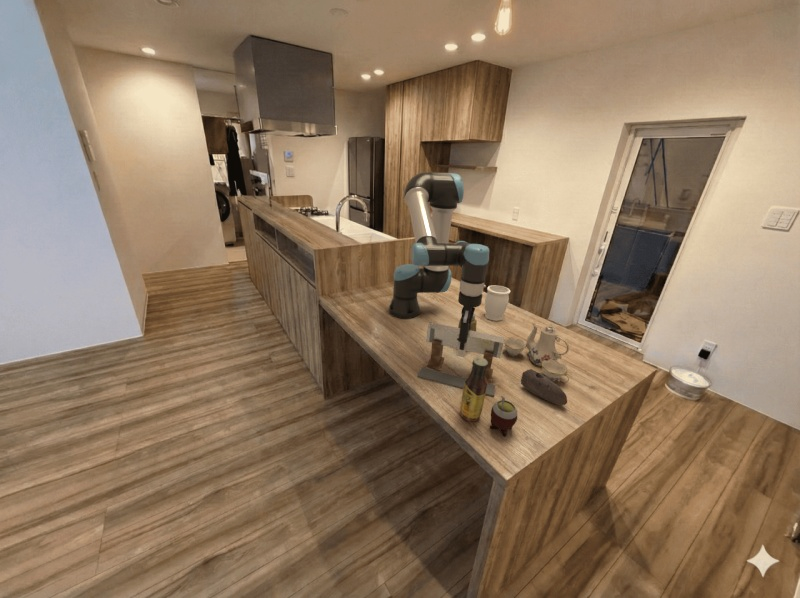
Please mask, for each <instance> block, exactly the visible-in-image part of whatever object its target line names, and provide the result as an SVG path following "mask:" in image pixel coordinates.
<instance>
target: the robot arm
mask: <svg viewBox="0 0 800 598" xmlns="http://www.w3.org/2000/svg"><path fill="white" fill-rule="evenodd" d="M464 192H465V186H464V181H463V178H462V177H461V175H459V174H458V173H453V172H431V171H430V172H429V171H423V172H419V173H417V174H416V175H414V176H412V177H411V178H410V179H409V180H408V182H407V183H406V186H405V188H404V194H403V197H404V202H405V205H406V206H407V207H408V211H409V215H410V221H411V226H412V231H413V237H414V242H415V243H413V244H412V245H411V249H410V256H411V257H410V260H411V263H406V264H402V265H399V266H397V267H396V268H395V269H394V271H393V272H394V273H393V277H392V278H393V287H392V289H393V290H392V299H391V301H390V304H389V306H388V312H389V313H388V314H390V315H391V316H393V317H395V318H399V319H404V320H405V319H407V320H408V319H414V318H416V317H418V316H419V315H420V311H421V310H420V304H419V300H418V294H419V293H420V294H425V293H427V294H429V293H431V294H433V293H434V294H438V293H445V292H447V291H448V290H449V288H450V286H451V284H452V271H451V269H450V268H449V267H451V266H452V267H458V266H459V267H460V268H461V277H460V283H459V293H458V300H457V301H458V303H459V305H461V306H462V308H461V316H460V317H461V326H460V333H459V338H457V340H458V342H459V344H458V349H457V351H456V356H457V357H461V358H465V357H466V352H467V351H466V345H467V336H468V330H470V329H471V322H472V318H473V314H475V310H476V308H479V307H480V306H481V304H482V300H483V293H484V288H485V289H486V288H487V286H486V284H485V282H486V277H487V276H486V275H487V269H488V266H489V265H488V264H489V260H490V248H489V246H487V245H483V244H479V243H469V242H467V241H465V240H459V241H456V242H454V243H449V242H450V241H449V240H450V233H451V225H452V219H453V212H454V211H455V210H456V209H457V208H458V204H461V203H462V202H463V199H464V196H465V195H464V194H465V193H464ZM430 209H431V210H432V213H431V210H430ZM421 266H422V267H423V268H420V267H421Z"/></svg>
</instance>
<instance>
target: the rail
mask: <svg viewBox="0 0 800 598" xmlns="http://www.w3.org/2000/svg"><path fill="white" fill-rule="evenodd" d="M459 333H460V328H458V326H457V327H455V326H451V325H446V324H441V323H436V322H432V321H431V322H429V323H428V325H427V326H426V336H425V337H426V338H425V342H426V343H431V344H432V341H438V342H441V345H443V347H444V346H445V347H449V348H453V349H457V350H458V344H459V342H458V340H457V338H459ZM504 339H505V337H504V336H500V335H499V336H498V335H496V334H494V335H493V334H490V333H485V332H480V331H477V330H476V331H471V330H468V336H467V345H466V352H471V353H476V354H478V355H483V356H484V352H487V353H492V354H493V358H497V359H501V357H502V351H503V348H504Z"/></svg>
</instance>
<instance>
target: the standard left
mask: <svg viewBox="0 0 800 598" xmlns="http://www.w3.org/2000/svg"><path fill="white" fill-rule="evenodd" d="M443 351H444V346H443V345H441V342H438V341H432V343H431V350H430V358H429V359H428V362H427V363H426V368H429V369H433V370H437V371H441V369H442V366H443V365H444V362H445V356H443V353H444V352H443Z"/></svg>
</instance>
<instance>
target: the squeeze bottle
mask: <svg viewBox="0 0 800 598" xmlns="http://www.w3.org/2000/svg"><path fill="white" fill-rule="evenodd" d="M460 326H461V318H459V323H458V326H457V328H460ZM470 330H471V331H476V332H477V319H476V314H475V313H474V314H473V318H472V322H471V329H470Z"/></svg>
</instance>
